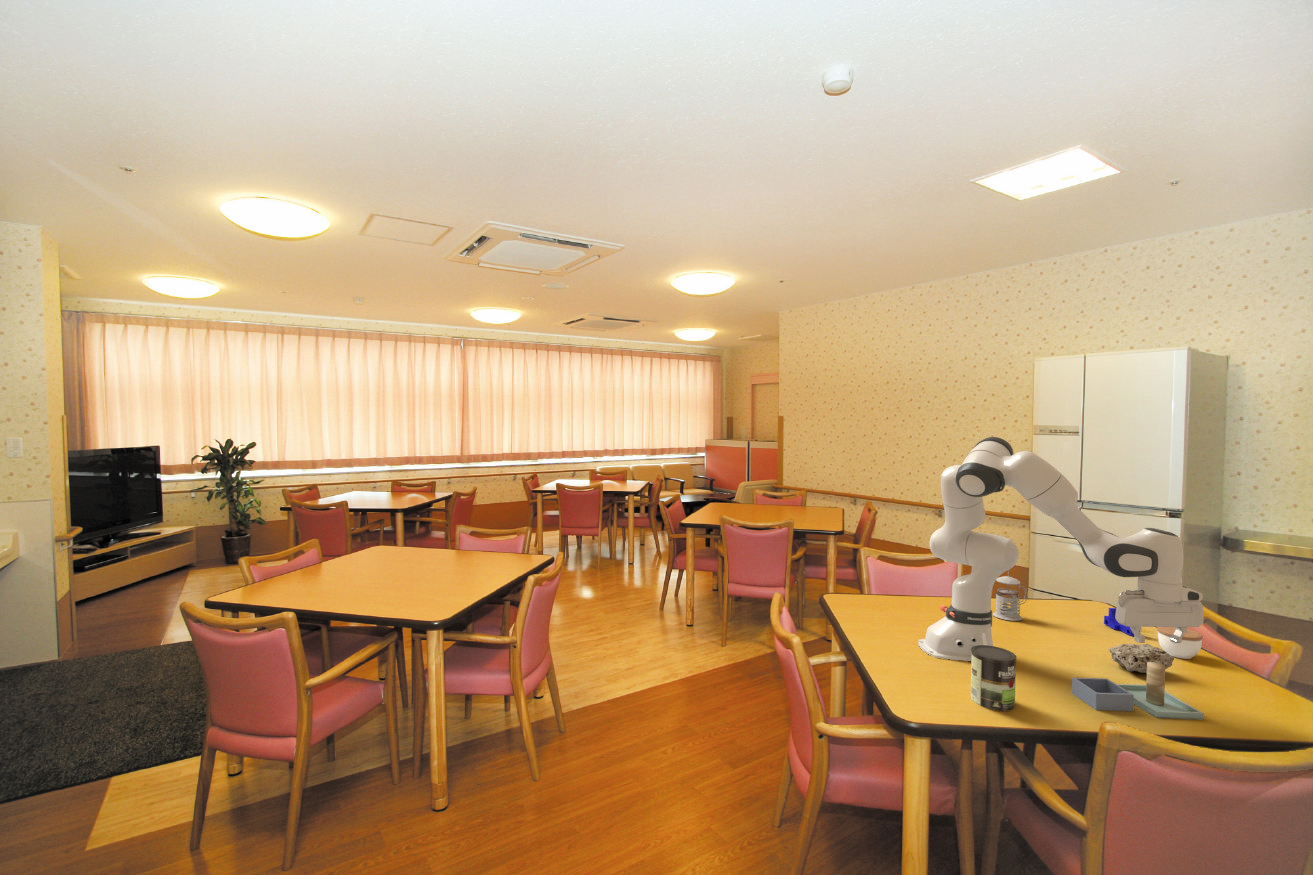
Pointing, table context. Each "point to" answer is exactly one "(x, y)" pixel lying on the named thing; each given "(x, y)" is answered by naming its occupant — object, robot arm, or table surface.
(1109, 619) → the cable clip
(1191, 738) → the table surface
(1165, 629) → the lidded jar
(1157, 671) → the dowel
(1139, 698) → the tray
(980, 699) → the coffee can
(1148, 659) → the pumice stone
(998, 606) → the french press
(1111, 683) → the grey open box
